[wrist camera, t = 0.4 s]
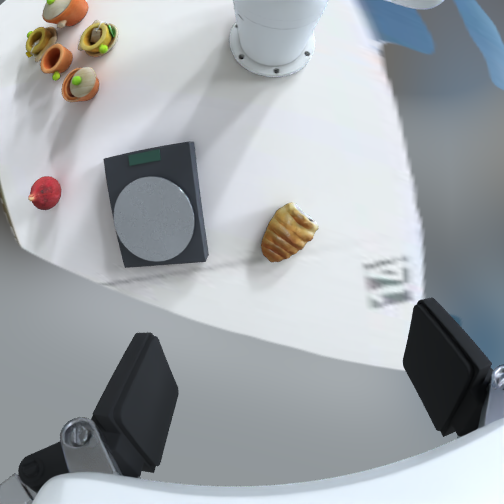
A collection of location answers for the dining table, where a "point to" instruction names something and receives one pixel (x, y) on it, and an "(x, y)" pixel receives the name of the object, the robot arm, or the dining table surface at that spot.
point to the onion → (45, 193)
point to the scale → (169, 167)
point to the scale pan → (154, 218)
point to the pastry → (287, 233)
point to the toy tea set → (59, 58)
